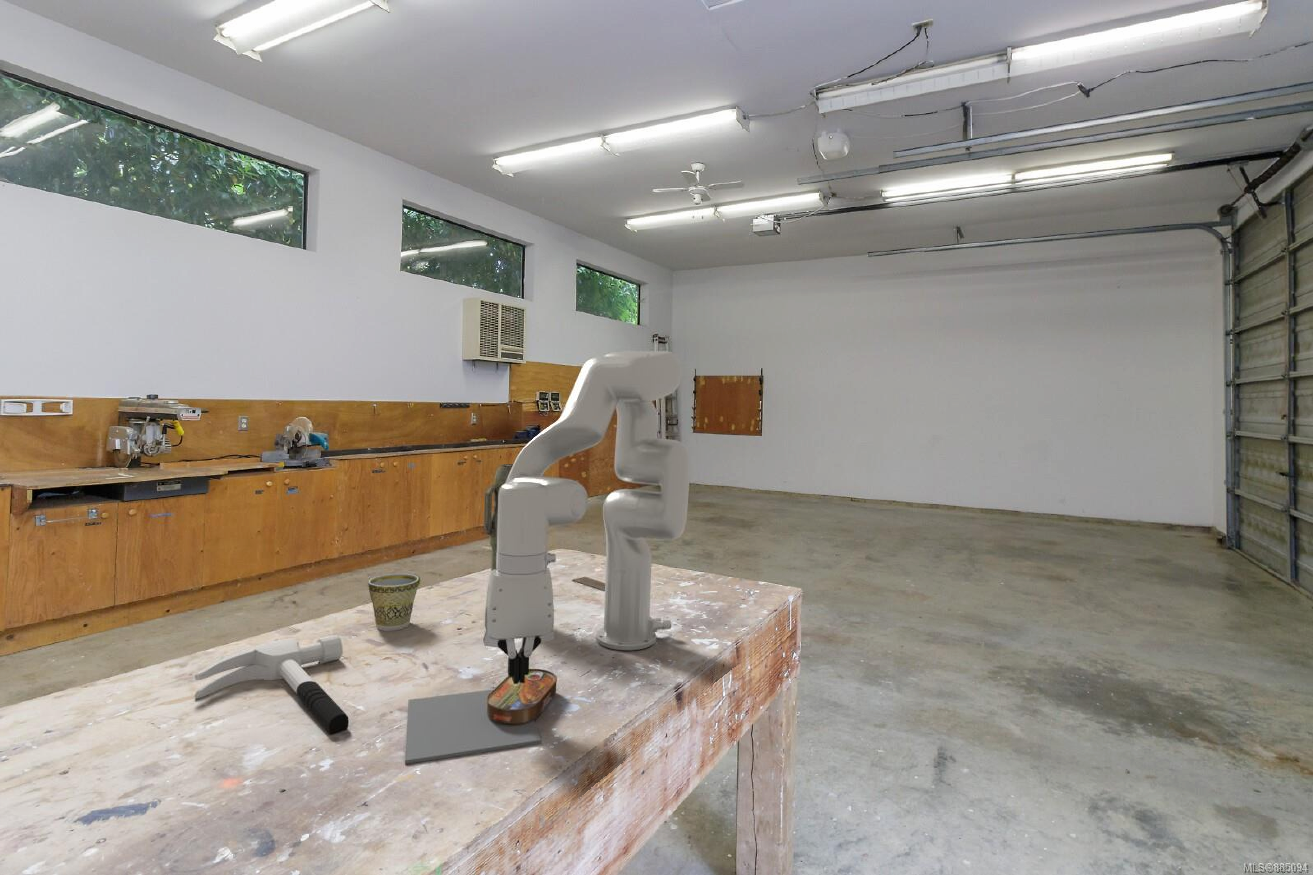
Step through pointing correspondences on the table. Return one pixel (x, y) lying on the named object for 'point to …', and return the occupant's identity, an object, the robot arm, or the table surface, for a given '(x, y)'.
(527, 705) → the tin
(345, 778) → the table surface
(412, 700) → the mat
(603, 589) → the wooden plank
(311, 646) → the claw hammer
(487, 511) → the thermos
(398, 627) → the ceramic cup
